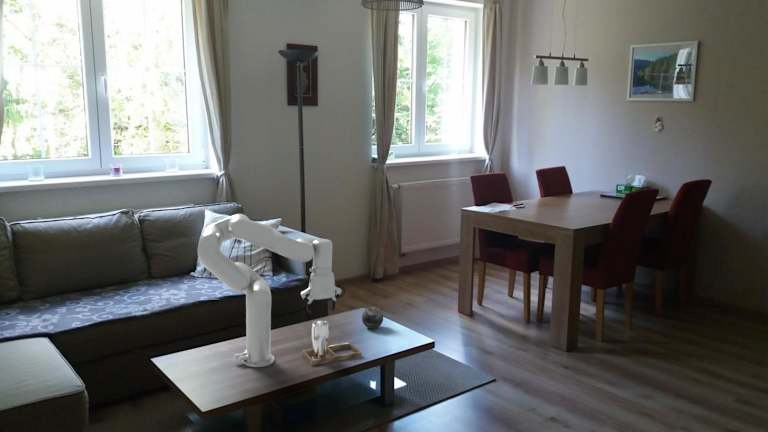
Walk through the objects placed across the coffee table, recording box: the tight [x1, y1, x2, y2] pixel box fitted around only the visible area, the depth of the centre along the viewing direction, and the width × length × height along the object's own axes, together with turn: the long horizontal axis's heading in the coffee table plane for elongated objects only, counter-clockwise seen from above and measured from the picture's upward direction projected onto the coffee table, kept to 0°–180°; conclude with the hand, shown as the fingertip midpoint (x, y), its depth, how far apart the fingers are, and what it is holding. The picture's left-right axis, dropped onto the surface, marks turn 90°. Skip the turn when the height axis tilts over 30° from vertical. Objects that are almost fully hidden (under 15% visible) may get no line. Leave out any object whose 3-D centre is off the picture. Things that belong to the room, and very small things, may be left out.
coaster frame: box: [301, 342, 363, 366], centre depth 257 cm, size 22×11×2 cm, turn 118°
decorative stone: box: [361, 306, 384, 330], centre depth 289 cm, size 10×10×10 cm
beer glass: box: [311, 320, 330, 360], centre depth 253 cm, size 7×7×15 cm
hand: (320, 311), depth 251 cm, fingers open, 9 cm apart
